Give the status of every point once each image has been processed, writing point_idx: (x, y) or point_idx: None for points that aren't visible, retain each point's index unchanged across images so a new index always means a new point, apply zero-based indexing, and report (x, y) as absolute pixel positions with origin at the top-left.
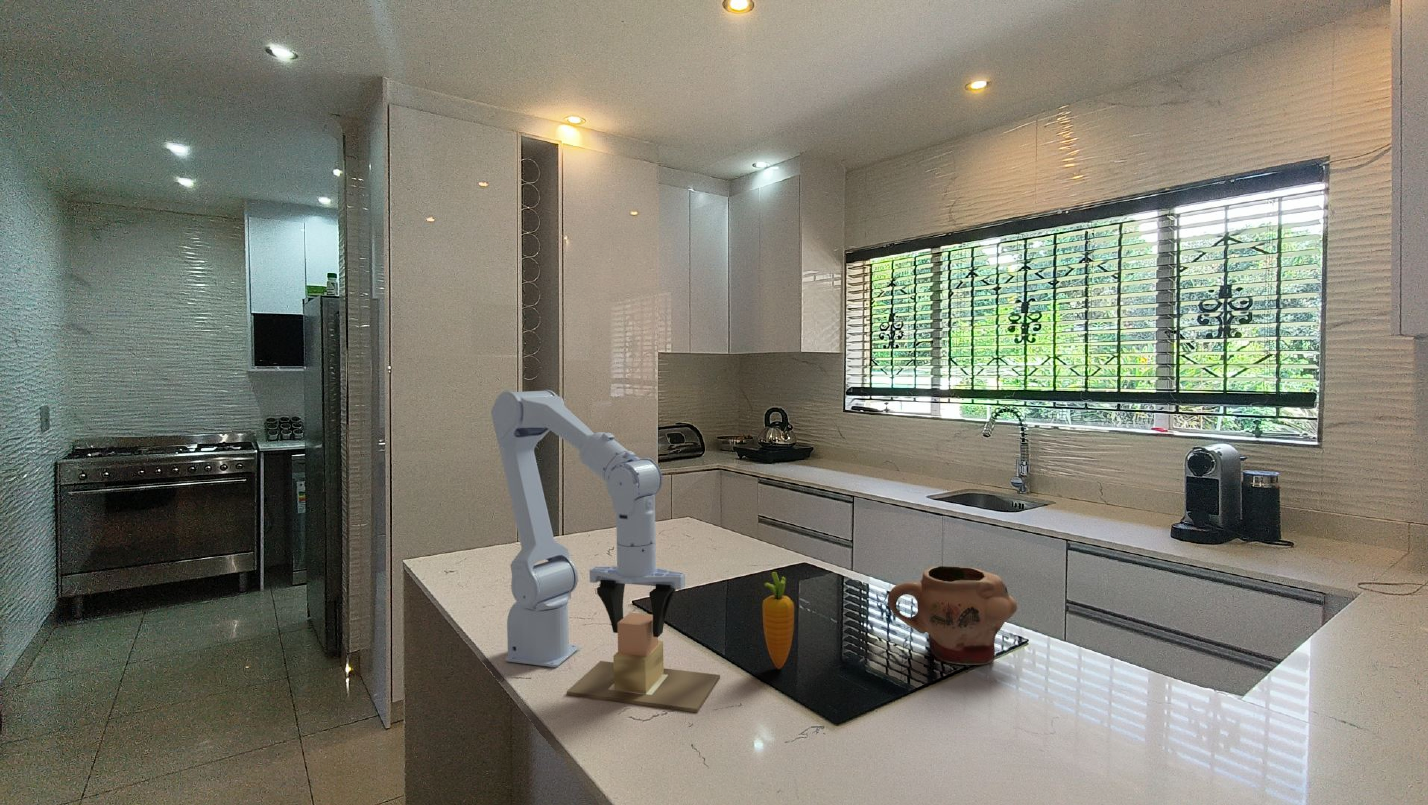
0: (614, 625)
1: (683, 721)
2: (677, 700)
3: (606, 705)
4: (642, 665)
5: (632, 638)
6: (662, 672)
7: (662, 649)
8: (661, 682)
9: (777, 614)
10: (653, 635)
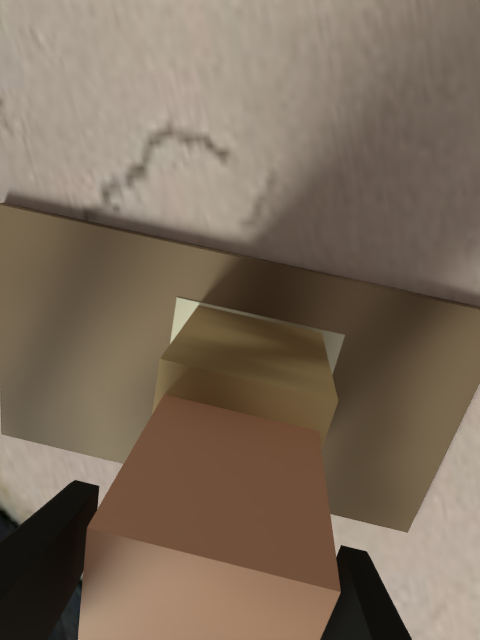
0: (367, 592)
1: (29, 135)
2: (78, 262)
3: (332, 238)
4: (183, 349)
5: (225, 472)
6: None
7: None
8: None
9: None
10: (93, 490)
